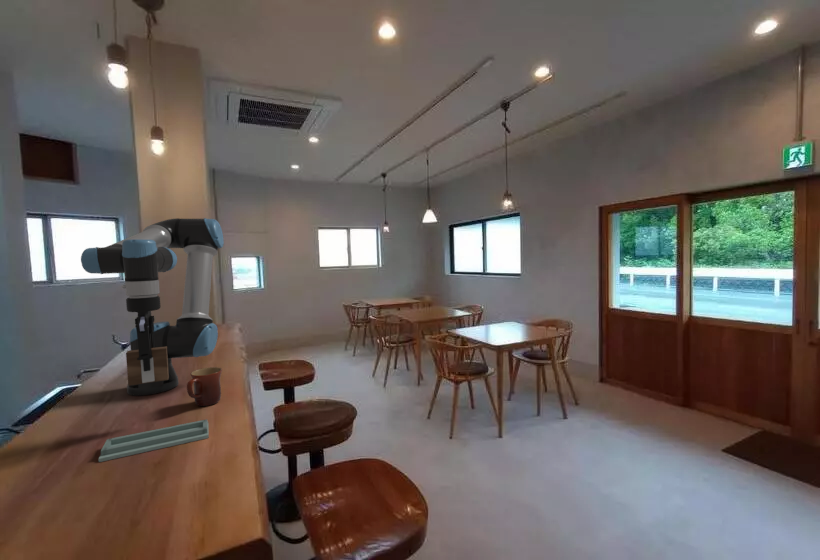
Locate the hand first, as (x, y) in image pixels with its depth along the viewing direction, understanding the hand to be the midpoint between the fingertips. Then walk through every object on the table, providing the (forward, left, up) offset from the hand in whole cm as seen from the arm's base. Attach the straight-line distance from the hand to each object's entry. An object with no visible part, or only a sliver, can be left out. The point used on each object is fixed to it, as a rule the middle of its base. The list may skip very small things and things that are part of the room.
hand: (149, 379), depth 103 cm
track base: (+13, +3, -13) cm, 19 cm away
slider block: (0, 0, -1) cm, 1 cm away
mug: (-8, +13, -13) cm, 20 cm away
